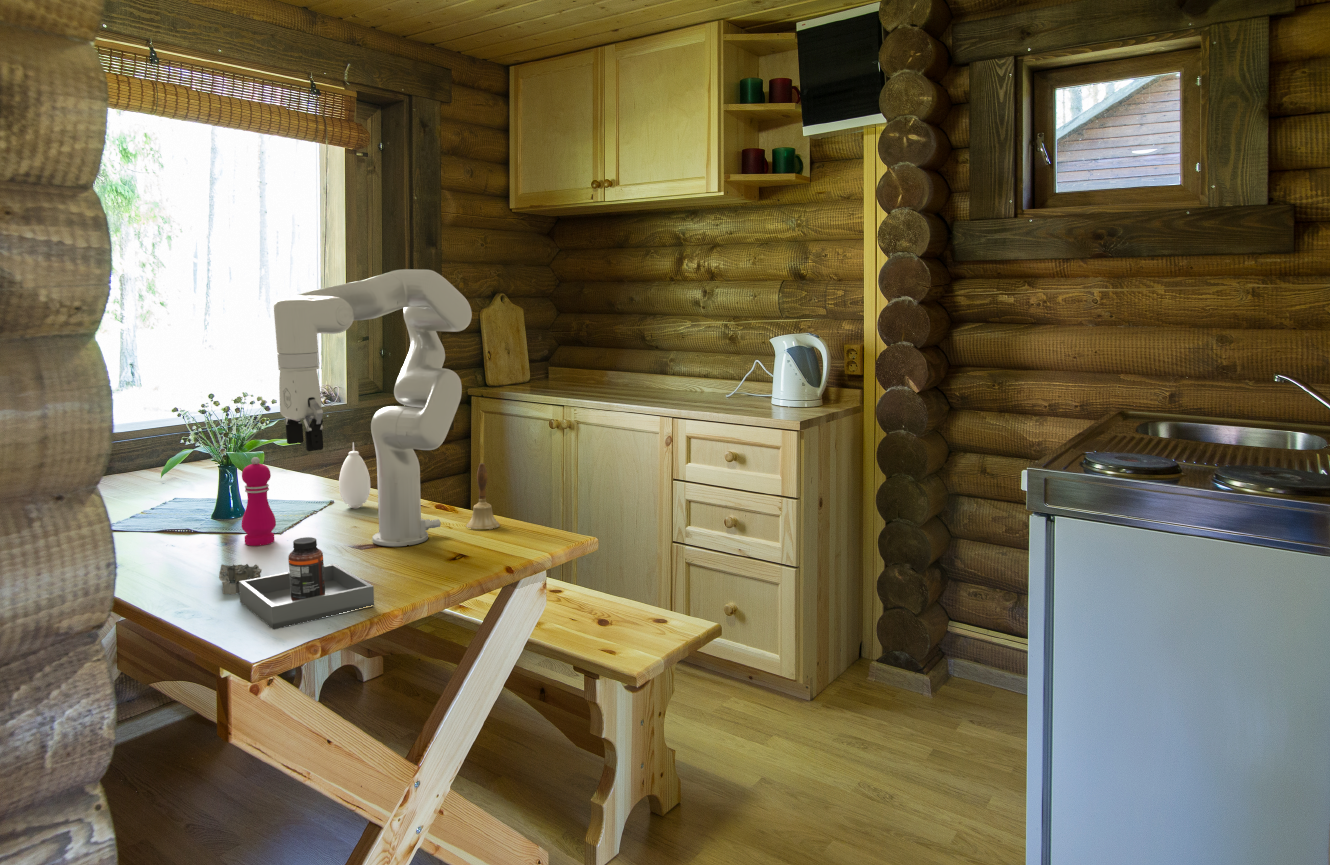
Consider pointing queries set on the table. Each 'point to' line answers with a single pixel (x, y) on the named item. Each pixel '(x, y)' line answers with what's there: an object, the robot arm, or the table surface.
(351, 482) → the air blower bulb
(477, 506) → the hand bell
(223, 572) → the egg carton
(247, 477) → the pepper mill
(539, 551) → the table surface
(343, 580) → the tray
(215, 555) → the table surface
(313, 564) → the supplement bottle
